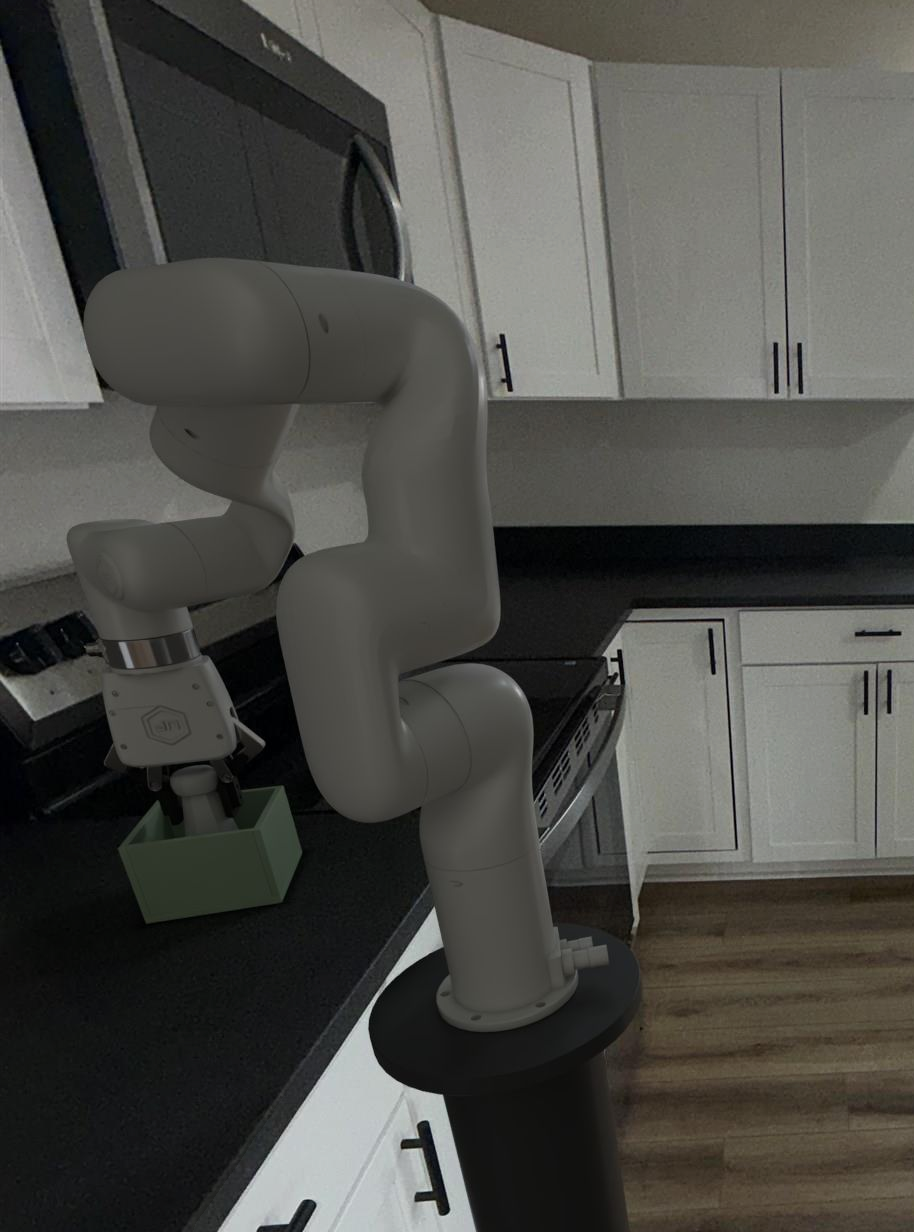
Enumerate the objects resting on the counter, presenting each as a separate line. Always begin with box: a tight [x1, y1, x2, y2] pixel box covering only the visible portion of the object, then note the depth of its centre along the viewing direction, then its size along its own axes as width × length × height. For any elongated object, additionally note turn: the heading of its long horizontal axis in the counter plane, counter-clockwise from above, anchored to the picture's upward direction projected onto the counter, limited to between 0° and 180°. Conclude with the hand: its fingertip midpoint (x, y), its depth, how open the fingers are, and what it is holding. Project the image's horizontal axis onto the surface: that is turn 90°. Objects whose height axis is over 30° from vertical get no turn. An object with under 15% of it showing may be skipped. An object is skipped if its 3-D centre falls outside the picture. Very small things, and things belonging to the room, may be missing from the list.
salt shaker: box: [170, 764, 239, 837], centre depth 99 cm, size 6×6×13 cm
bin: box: [117, 785, 303, 925], centre depth 101 cm, size 12×12×9 cm
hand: (206, 814), depth 99 cm, fingers closed on salt shaker, 4 cm apart
